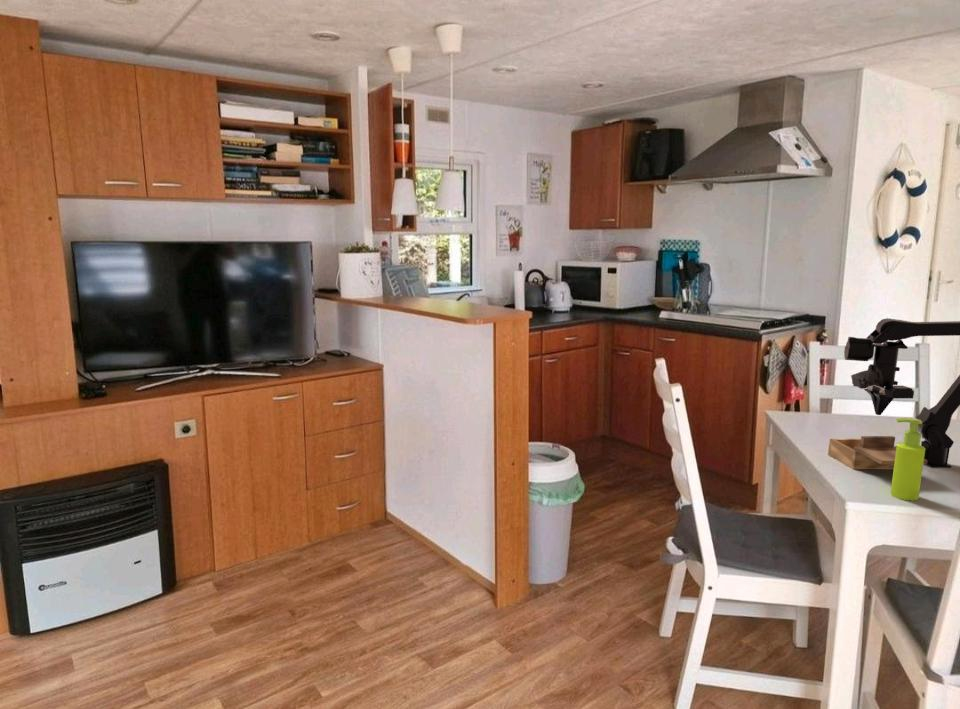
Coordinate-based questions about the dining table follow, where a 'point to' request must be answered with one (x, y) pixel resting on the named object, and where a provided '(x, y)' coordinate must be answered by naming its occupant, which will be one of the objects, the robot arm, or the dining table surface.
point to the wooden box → (853, 455)
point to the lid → (879, 449)
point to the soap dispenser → (908, 463)
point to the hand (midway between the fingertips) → (878, 414)
